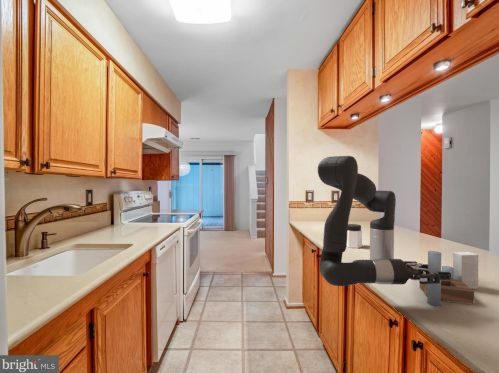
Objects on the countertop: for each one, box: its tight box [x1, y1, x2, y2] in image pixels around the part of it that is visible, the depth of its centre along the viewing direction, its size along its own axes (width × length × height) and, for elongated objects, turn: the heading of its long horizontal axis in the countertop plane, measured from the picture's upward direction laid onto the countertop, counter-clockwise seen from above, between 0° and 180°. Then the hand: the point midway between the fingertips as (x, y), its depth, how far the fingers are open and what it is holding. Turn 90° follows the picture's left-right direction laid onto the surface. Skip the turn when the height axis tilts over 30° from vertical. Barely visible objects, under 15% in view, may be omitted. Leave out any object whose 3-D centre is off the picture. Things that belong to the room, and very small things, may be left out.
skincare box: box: [452, 251, 479, 290], centre depth 96 cm, size 6×4×12 cm
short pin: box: [441, 265, 454, 279], centre depth 96 cm, size 3×3×7 cm
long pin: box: [426, 250, 442, 307], centre depth 84 cm, size 3×3×16 cm
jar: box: [346, 223, 363, 249], centre depth 153 cm, size 9×8×12 cm
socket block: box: [418, 279, 475, 305], centre depth 90 cm, size 10×12×4 cm
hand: (442, 271), depth 83 cm, fingers open, 6 cm apart
